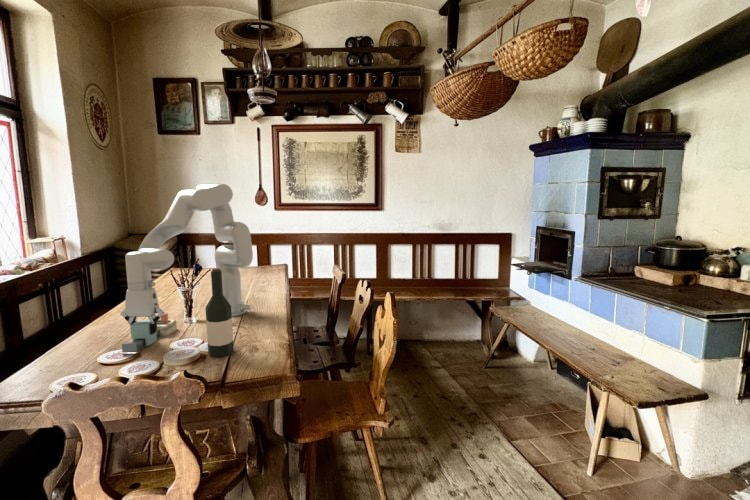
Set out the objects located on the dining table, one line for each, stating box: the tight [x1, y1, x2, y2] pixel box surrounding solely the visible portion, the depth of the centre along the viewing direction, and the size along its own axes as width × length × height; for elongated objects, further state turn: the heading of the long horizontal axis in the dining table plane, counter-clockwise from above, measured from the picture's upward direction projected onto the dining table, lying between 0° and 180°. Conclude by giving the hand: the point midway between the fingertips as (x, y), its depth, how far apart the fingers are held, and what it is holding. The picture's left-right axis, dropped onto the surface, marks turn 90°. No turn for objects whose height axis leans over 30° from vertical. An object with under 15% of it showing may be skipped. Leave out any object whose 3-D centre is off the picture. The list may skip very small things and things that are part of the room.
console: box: [157, 319, 178, 337], centre depth 161 cm, size 10×8×5 cm
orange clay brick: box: [160, 312, 169, 322], centre depth 161 cm, size 2×1×4 cm
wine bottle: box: [205, 267, 235, 359], centre depth 139 cm, size 8×8×30 cm
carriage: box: [129, 319, 158, 347], centre depth 149 cm, size 6×6×8 cm
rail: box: [121, 329, 161, 353], centre depth 148 cm, size 5×17×4 cm, turn 1°
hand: (144, 332), depth 149 cm, fingers closed on carriage, 6 cm apart
